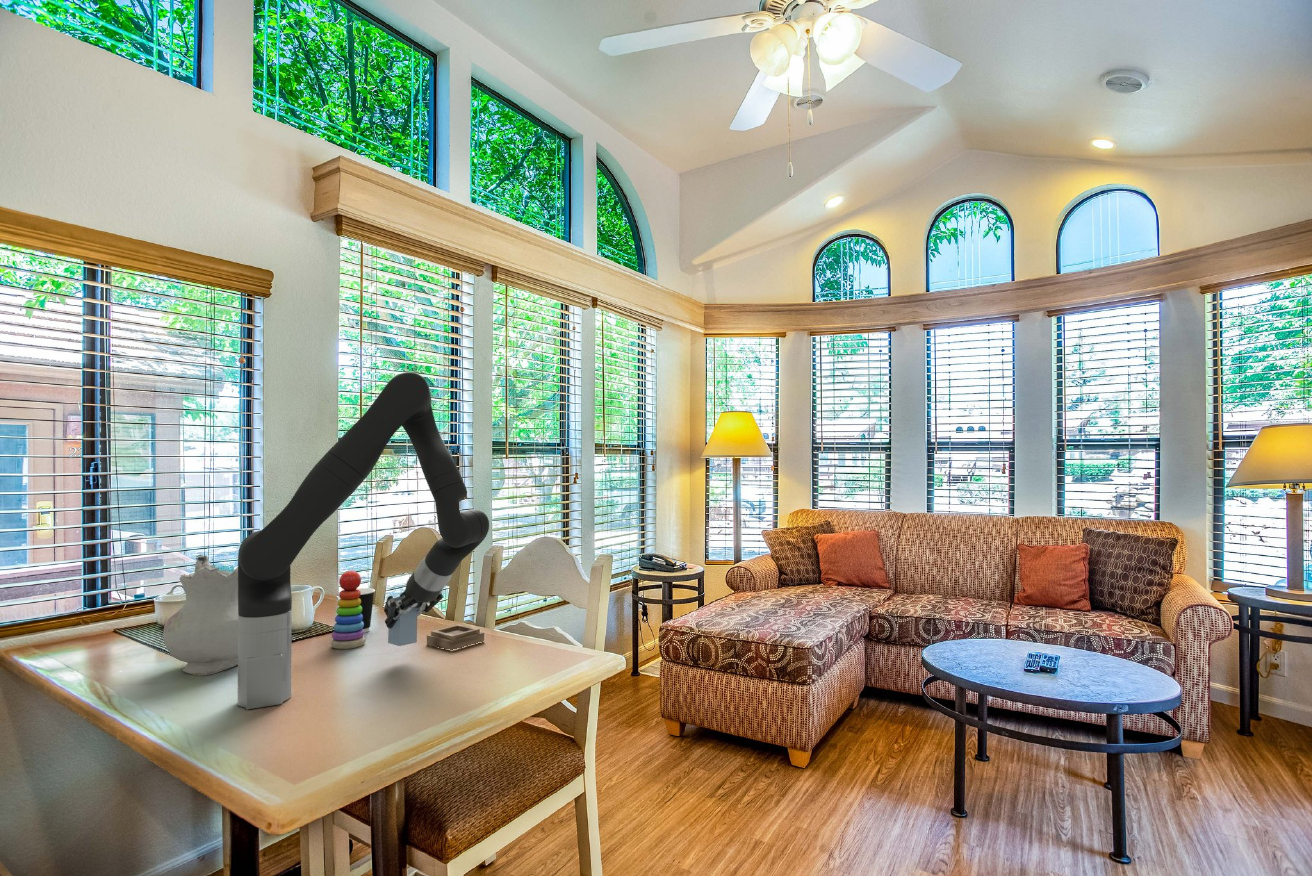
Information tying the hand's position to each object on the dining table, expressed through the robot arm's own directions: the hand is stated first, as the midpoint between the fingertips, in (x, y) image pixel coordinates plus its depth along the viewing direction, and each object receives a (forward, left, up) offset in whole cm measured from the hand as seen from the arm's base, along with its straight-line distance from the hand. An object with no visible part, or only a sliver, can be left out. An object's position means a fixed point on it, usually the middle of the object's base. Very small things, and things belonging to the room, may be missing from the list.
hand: (398, 623), depth 161 cm
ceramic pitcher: (+18, +38, -9) cm, 43 cm away
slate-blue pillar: (-2, -1, -4) cm, 5 cm away
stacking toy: (+21, +9, -9) cm, 24 cm away
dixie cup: (+35, +5, -9) cm, 36 cm away
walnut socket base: (+9, -15, -9) cm, 20 cm away
